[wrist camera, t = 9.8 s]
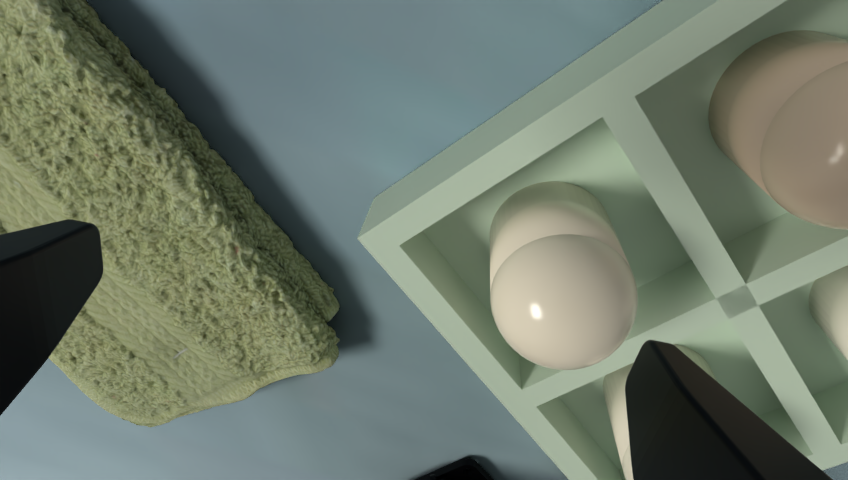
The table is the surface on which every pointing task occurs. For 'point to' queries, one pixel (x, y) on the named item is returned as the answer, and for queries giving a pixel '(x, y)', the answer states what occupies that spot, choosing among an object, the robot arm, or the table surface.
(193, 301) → the washcloth
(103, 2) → the table surface
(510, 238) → the egg
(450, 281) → the egg tray
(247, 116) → the table surface
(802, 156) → the brown egg
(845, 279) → the egg
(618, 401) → the egg
